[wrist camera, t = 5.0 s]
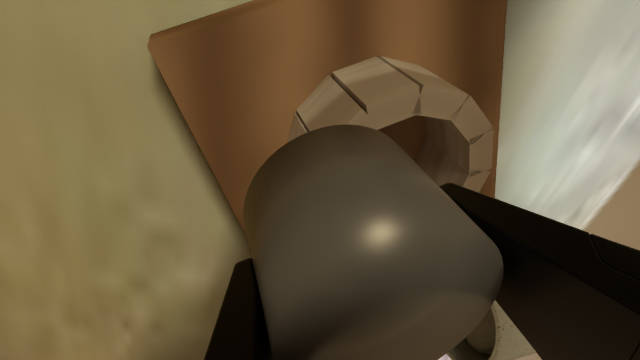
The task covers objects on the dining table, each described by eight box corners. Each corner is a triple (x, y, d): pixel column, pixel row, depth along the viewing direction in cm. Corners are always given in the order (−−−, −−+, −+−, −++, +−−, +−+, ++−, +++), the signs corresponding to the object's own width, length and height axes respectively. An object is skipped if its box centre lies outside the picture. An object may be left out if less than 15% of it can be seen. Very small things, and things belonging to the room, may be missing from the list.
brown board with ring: (481, -76, 18) (592, -75, 13) (476, 182, 27) (538, 237, 23) (150, 34, 16) (138, 81, 11) (268, 267, 26) (288, 345, 21)
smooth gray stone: (404, 97, 10) (515, 185, 6) (415, 232, 13) (494, 337, 9) (213, 165, 9) (232, 296, 6) (273, 289, 12) (307, 420, 9)
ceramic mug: (485, 302, 37) (545, 374, 31) (415, 310, 34) (467, 392, 28) (536, 215, 32) (621, 281, 26) (460, 216, 29) (535, 291, 23)
